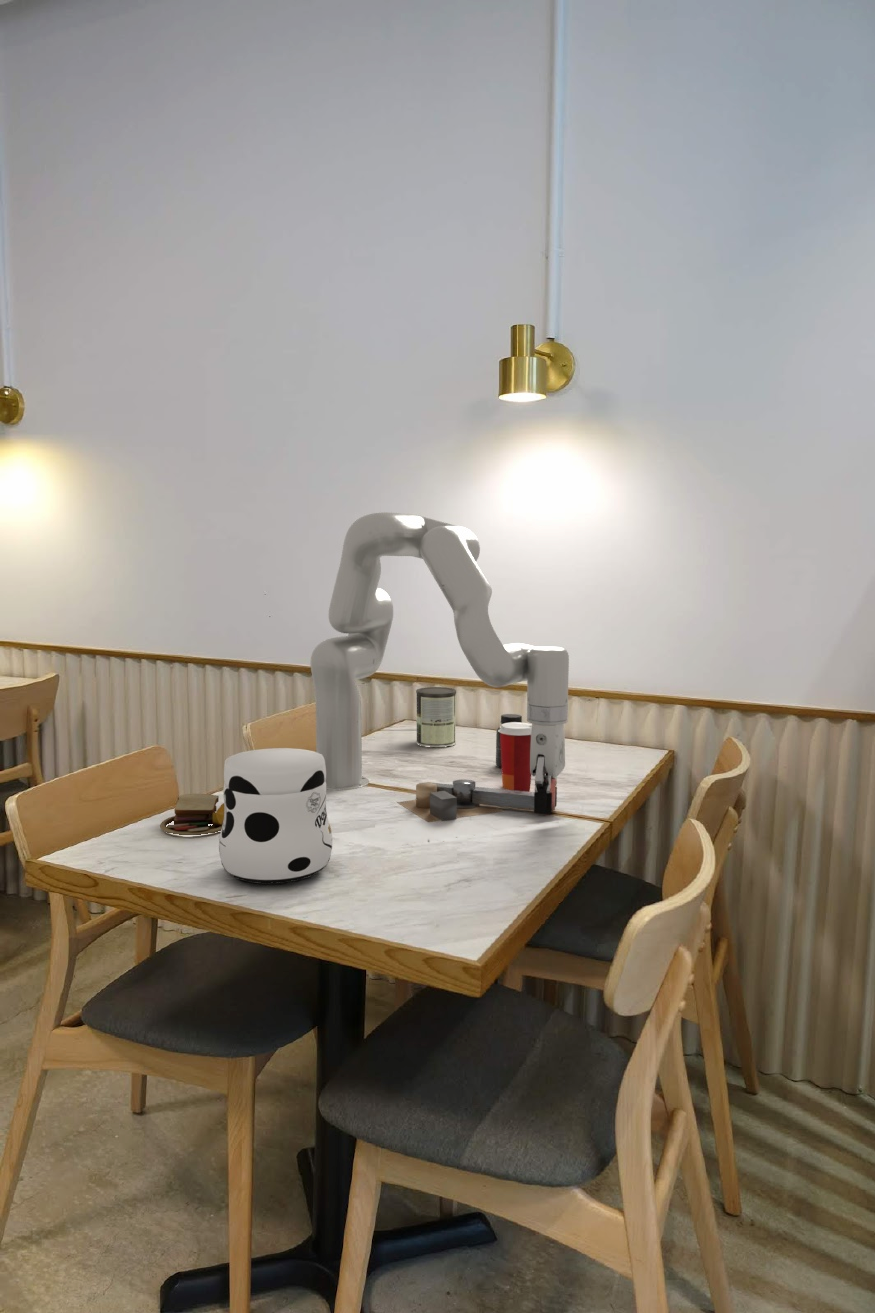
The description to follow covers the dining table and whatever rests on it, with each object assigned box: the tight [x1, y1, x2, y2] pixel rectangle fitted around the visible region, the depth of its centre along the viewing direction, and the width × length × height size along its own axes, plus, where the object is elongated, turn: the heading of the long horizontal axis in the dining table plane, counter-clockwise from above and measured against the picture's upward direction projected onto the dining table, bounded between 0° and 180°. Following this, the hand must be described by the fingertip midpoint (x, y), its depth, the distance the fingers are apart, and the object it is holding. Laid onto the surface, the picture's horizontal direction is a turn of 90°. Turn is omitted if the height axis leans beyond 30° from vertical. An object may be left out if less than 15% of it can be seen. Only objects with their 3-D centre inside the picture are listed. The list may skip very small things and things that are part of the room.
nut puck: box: [415, 782, 437, 809], centre depth 172 cm, size 4×4×4 cm
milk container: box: [218, 747, 333, 884], centre depth 139 cm, size 17×17×18 cm
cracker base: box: [396, 791, 505, 823], centre depth 171 cm, size 16×14×5 cm
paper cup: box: [498, 722, 532, 792], centre depth 186 cm, size 8×8×14 cm
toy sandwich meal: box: [159, 793, 224, 835], centre depth 162 cm, size 12×14×5 cm
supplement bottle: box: [495, 713, 523, 769], centre depth 207 cm, size 7×7×12 cm
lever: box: [426, 777, 557, 812], centre depth 171 cm, size 26×4×6 cm, turn 71°
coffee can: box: [415, 686, 457, 748], centre depth 231 cm, size 10×10×14 cm
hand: (545, 808), depth 168 cm, fingers closed on lever, 3 cm apart
